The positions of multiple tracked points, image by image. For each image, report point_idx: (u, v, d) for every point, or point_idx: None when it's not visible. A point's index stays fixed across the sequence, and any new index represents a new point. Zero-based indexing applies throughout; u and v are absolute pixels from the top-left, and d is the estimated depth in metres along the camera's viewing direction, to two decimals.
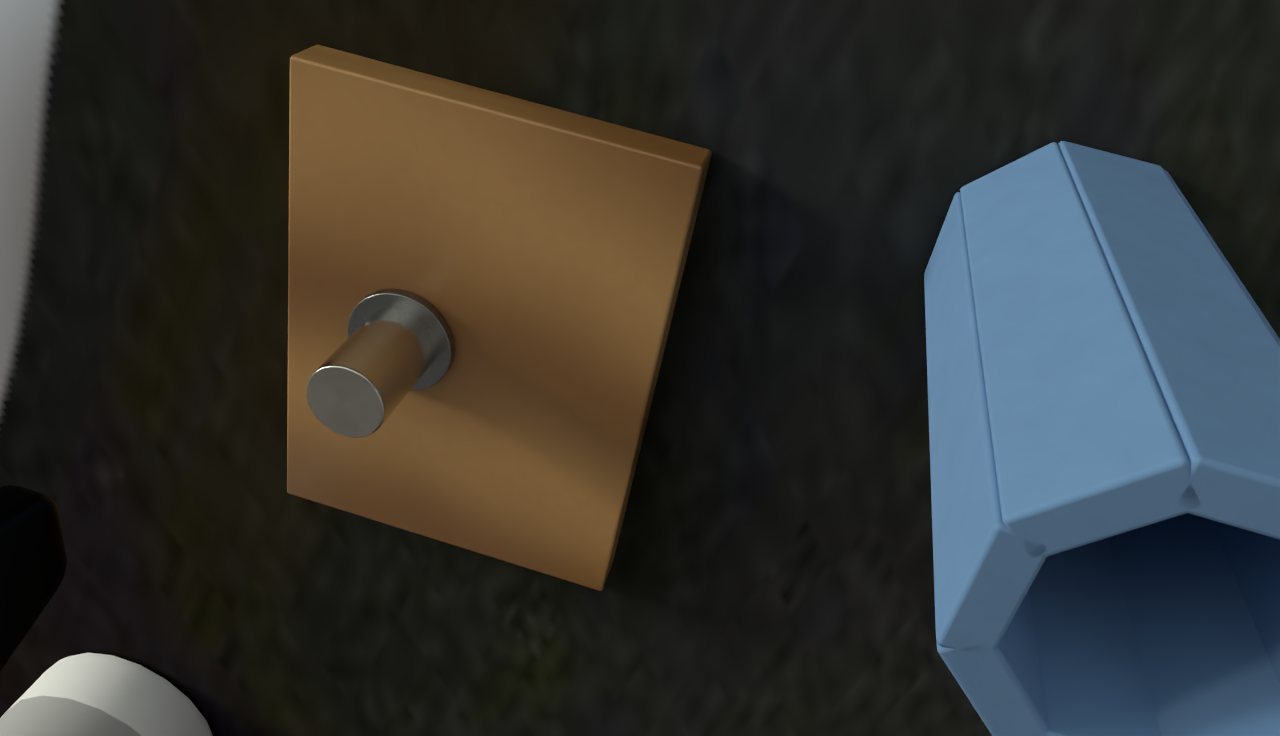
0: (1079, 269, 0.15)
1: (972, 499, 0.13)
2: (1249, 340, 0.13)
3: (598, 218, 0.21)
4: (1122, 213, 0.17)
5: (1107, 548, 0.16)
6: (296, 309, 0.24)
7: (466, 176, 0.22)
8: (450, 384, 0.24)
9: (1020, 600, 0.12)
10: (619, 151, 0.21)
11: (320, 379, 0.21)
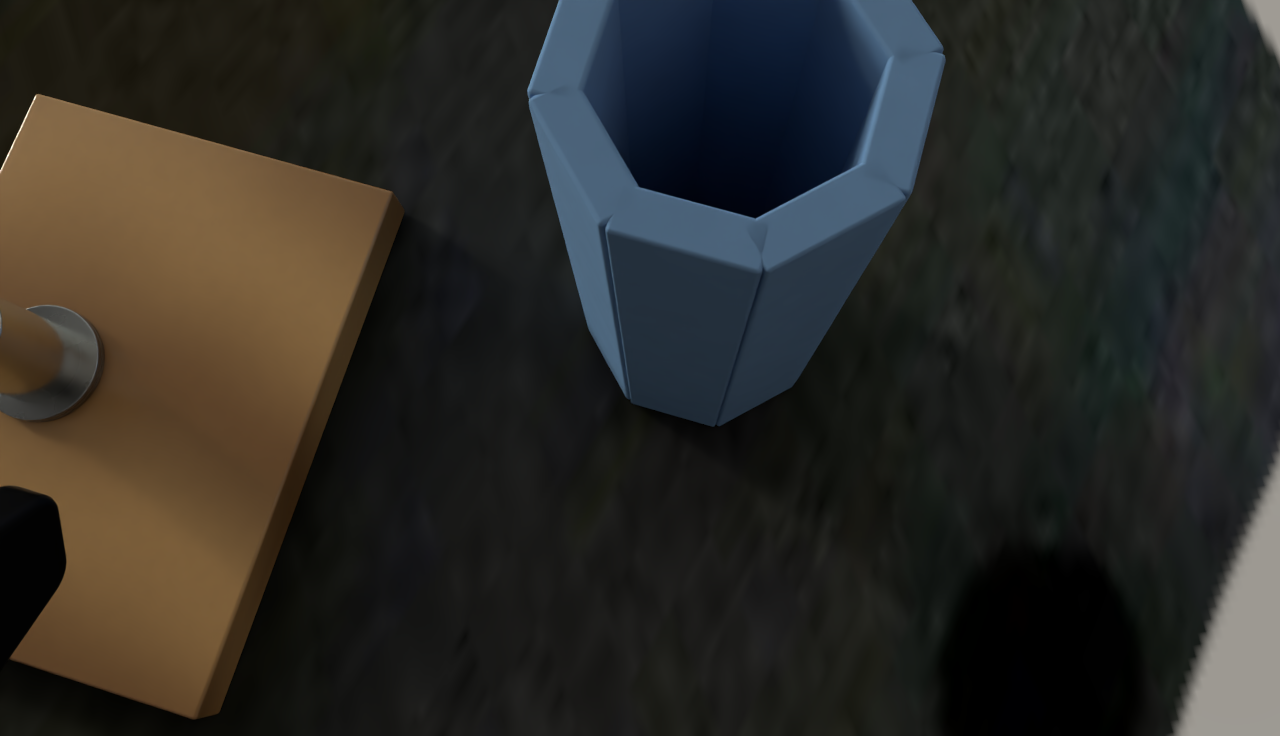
0: None
1: None
2: None
3: (289, 235, 0.23)
4: None
5: None
6: None
7: (170, 196, 0.23)
8: (82, 420, 0.22)
9: (598, 32, 0.13)
10: (320, 177, 0.23)
11: None
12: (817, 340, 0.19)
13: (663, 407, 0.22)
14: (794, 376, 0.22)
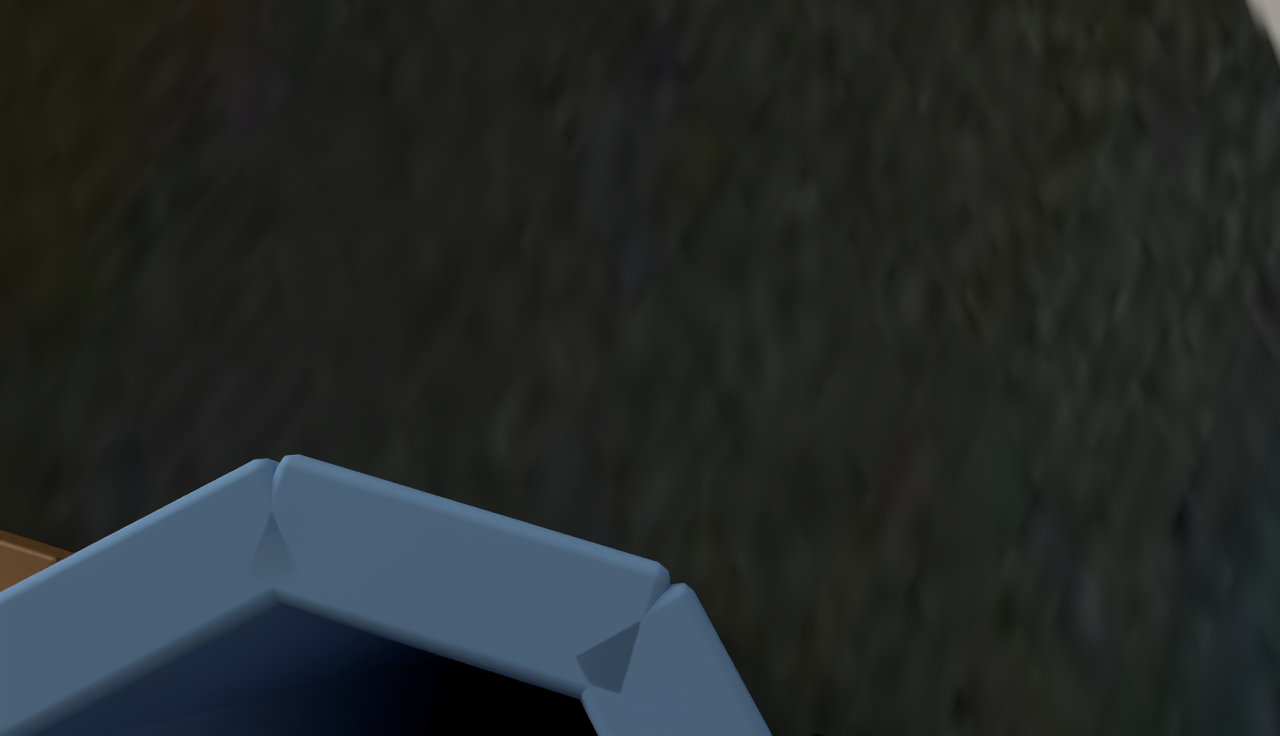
0: None
1: None
2: None
3: None
4: None
5: None
6: None
7: None
8: None
9: None
10: None
11: None
12: None
13: None
14: None
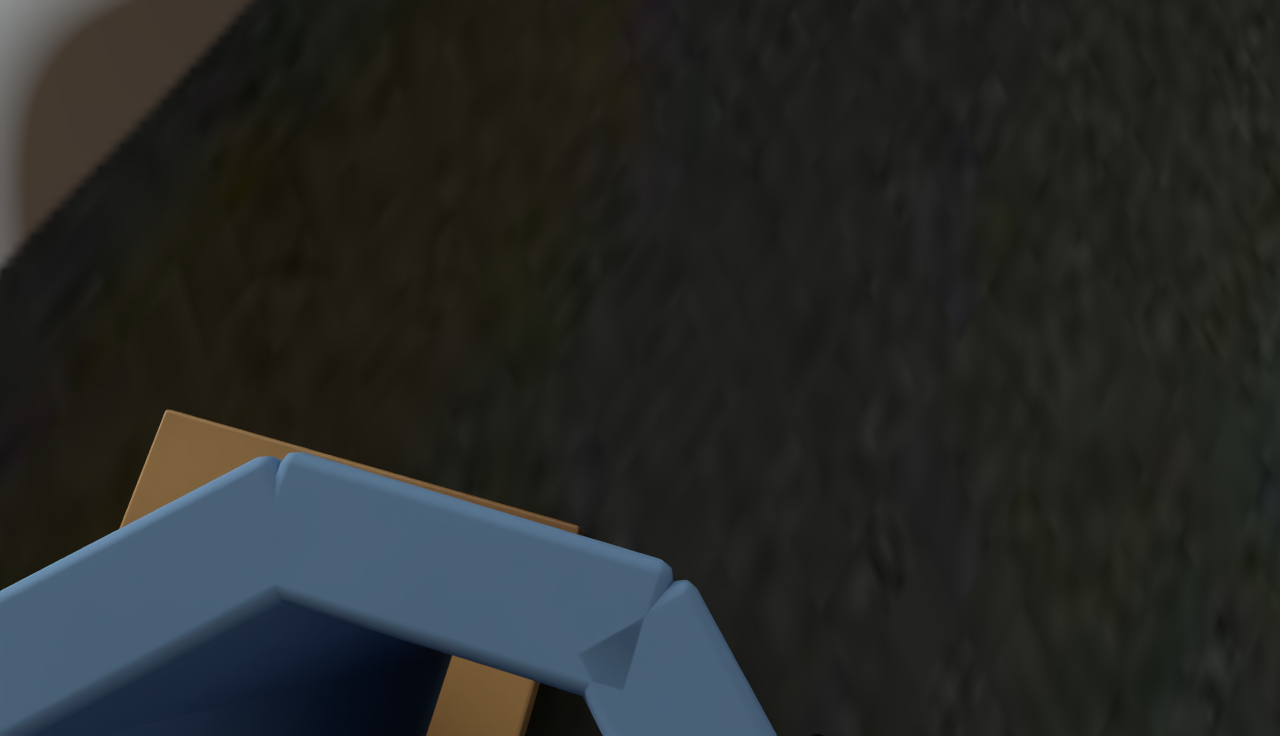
0: None
1: None
2: None
3: None
4: None
5: None
6: None
7: None
8: None
9: None
10: (495, 509, 0.20)
11: None
12: None
13: None
14: None
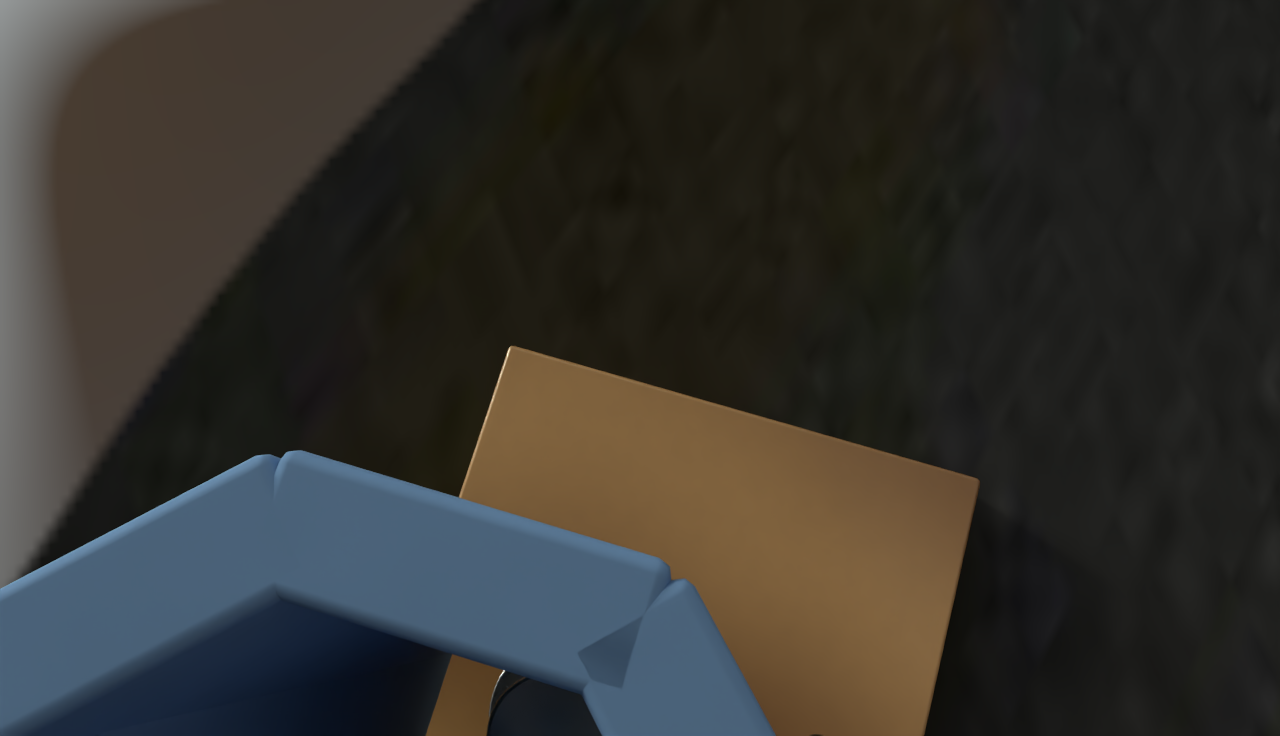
0: None
1: None
2: None
3: (856, 539, 0.18)
4: None
5: None
6: None
7: (698, 485, 0.18)
8: None
9: None
10: (885, 459, 0.18)
11: (519, 696, 0.15)
12: None
13: None
14: None
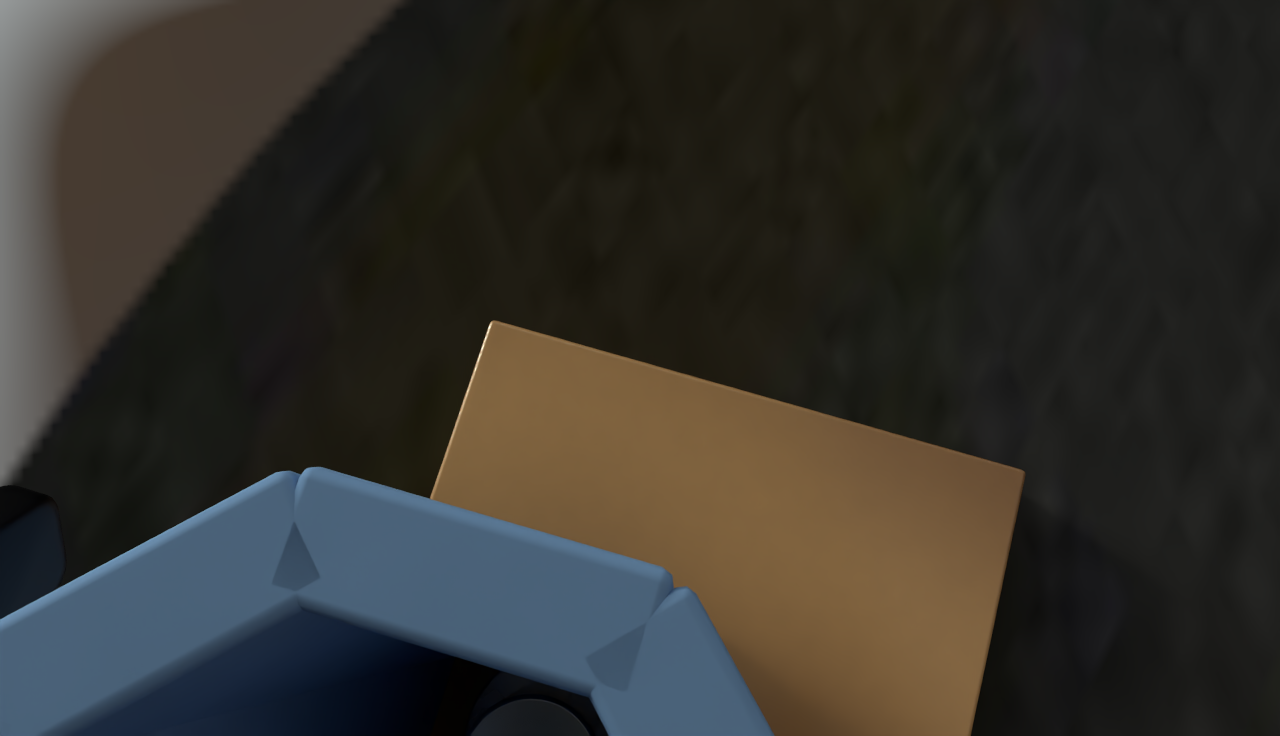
0: None
1: None
2: None
3: (885, 538, 0.16)
4: None
5: None
6: None
7: (704, 477, 0.16)
8: None
9: None
10: (917, 448, 0.16)
11: (496, 723, 0.12)
12: None
13: None
14: None
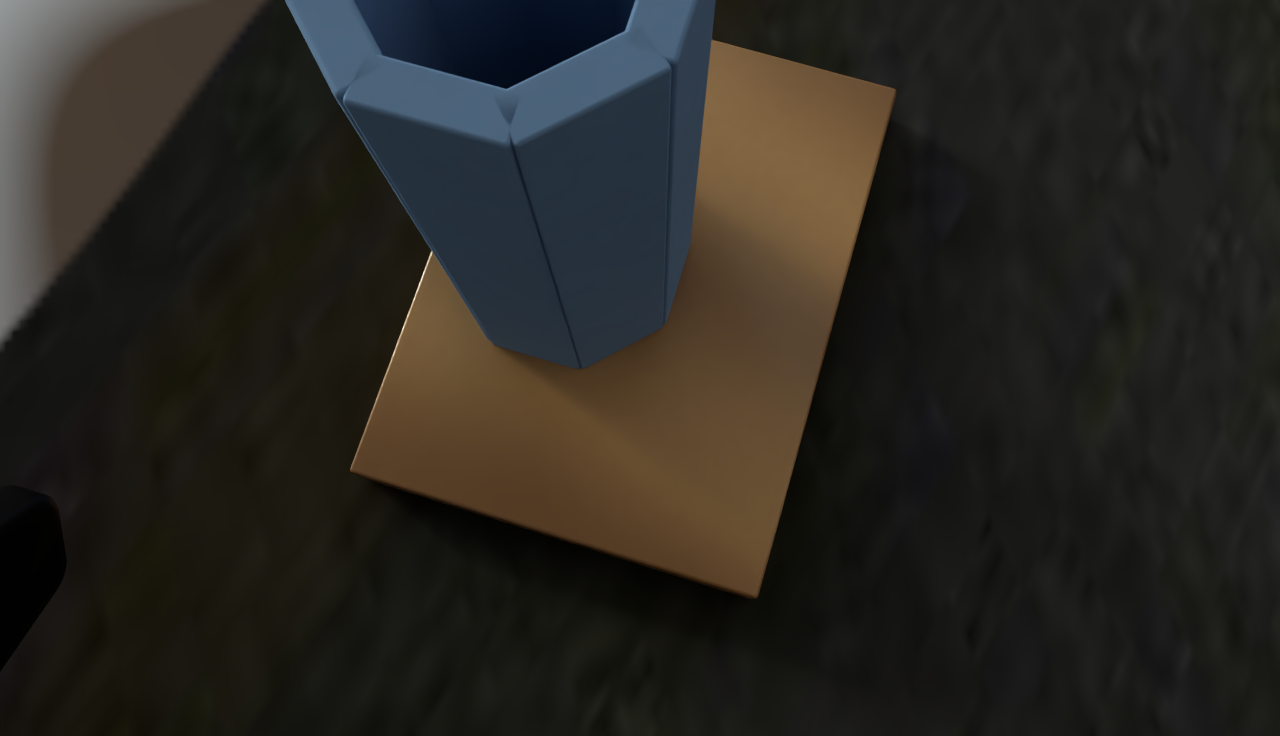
0: None
1: None
2: None
3: (798, 130, 0.23)
4: None
5: None
6: None
7: None
8: None
9: None
10: (822, 74, 0.23)
11: None
12: (659, 265, 0.18)
13: (522, 347, 0.21)
14: (656, 313, 0.21)
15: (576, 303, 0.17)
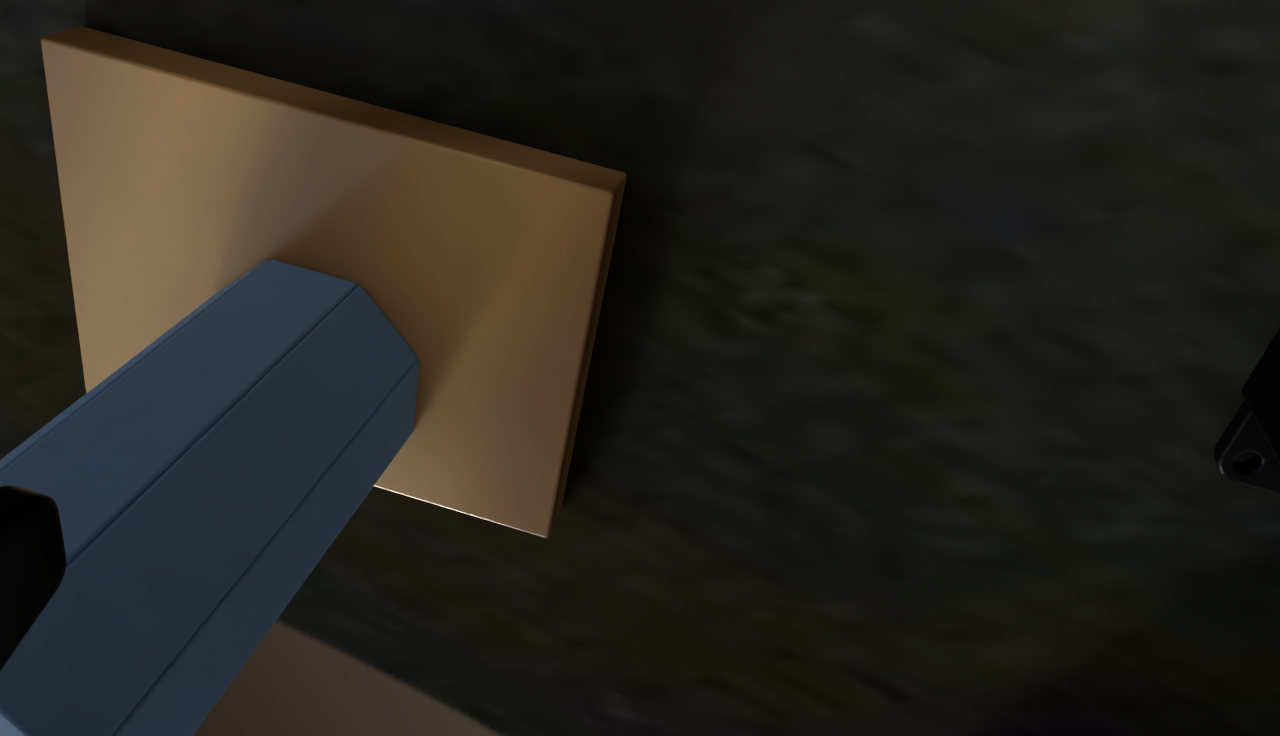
0: None
1: None
2: None
3: (124, 148, 0.21)
4: None
5: None
6: None
7: (129, 271, 0.23)
8: None
9: None
10: (56, 121, 0.21)
11: None
12: (255, 397, 0.18)
13: (404, 421, 0.22)
14: (336, 321, 0.20)
15: (308, 472, 0.18)
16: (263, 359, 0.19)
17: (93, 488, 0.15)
